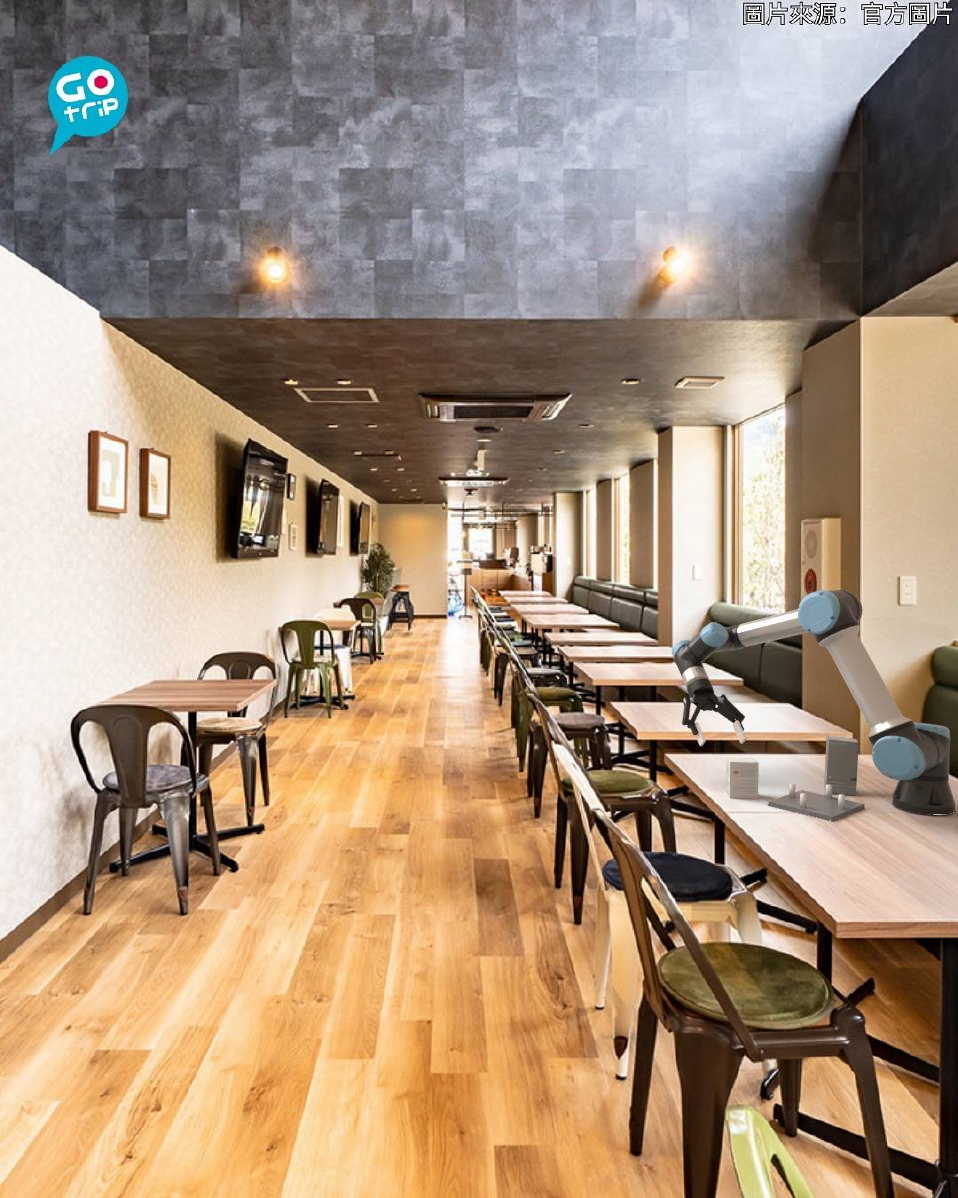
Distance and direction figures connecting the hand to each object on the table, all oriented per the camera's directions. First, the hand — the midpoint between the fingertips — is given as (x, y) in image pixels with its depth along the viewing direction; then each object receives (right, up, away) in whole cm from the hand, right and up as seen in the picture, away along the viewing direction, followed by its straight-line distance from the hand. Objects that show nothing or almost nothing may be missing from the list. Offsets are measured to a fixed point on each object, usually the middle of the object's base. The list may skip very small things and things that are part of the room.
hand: (723, 742), depth 245 cm
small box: (+3, -14, -8) cm, 17 cm away
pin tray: (+20, -14, -19) cm, 31 cm away
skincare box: (+33, -14, -4) cm, 36 cm away
